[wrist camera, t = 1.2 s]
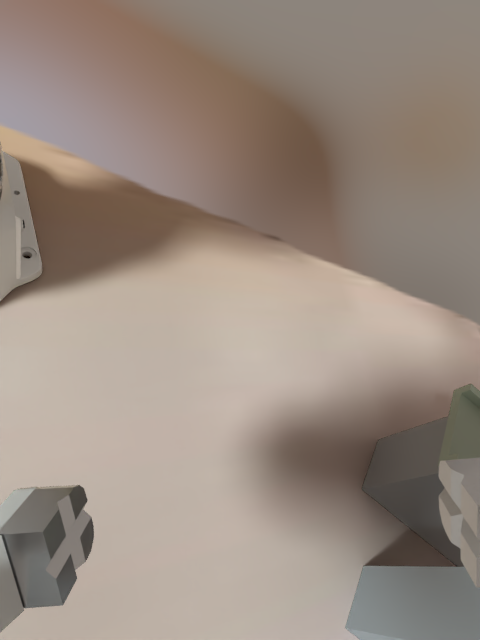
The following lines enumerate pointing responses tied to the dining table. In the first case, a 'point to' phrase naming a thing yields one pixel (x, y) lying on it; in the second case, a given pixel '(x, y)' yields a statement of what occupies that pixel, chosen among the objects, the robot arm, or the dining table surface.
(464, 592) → the plinth
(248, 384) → the dining table surface
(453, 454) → the box with lid
